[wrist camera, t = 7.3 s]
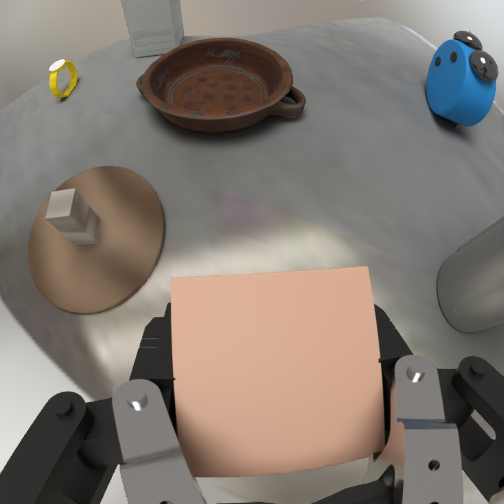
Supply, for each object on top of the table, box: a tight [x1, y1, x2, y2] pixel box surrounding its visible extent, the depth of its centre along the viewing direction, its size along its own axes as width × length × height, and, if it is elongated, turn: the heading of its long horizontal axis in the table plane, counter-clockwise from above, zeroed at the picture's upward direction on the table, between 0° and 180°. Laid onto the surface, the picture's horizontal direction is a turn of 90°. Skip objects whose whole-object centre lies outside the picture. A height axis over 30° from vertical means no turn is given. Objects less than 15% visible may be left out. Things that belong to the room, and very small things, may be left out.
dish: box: [136, 38, 306, 133], centre depth 34 cm, size 18×22×5 cm
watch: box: [49, 60, 77, 98], centre depth 34 cm, size 6×3×6 cm, turn 174°
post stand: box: [28, 166, 165, 314], centre depth 25 cm, size 16×16×7 cm
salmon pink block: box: [171, 266, 385, 477], centre depth 11 cm, size 5×5×8 cm
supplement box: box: [121, 0, 184, 58], centre depth 35 cm, size 7×7×13 cm
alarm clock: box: [426, 31, 498, 128], centre depth 31 cm, size 13×6×15 cm, turn 170°
